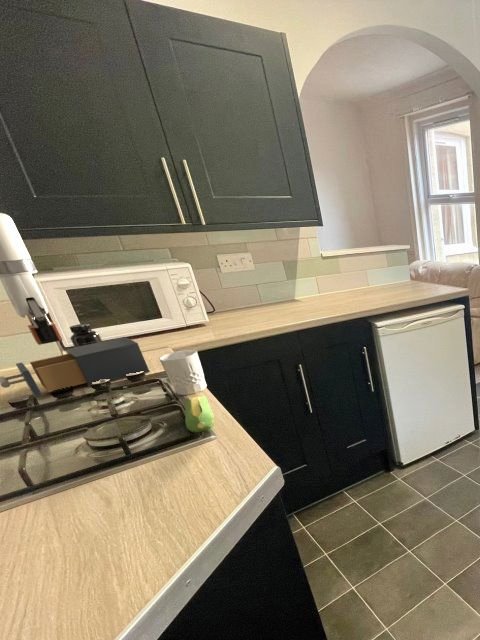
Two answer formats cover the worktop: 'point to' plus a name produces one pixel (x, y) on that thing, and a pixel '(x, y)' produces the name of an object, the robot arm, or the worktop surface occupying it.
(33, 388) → the drawer
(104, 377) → the cabinet
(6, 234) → the robot arm
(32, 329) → the block
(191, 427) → the edible corn
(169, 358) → the white cup
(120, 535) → the worktop surface
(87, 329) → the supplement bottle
